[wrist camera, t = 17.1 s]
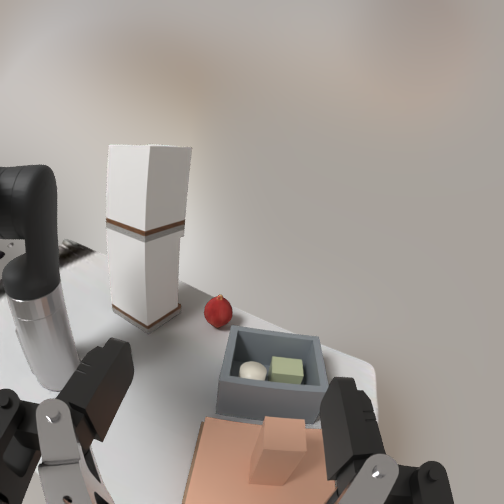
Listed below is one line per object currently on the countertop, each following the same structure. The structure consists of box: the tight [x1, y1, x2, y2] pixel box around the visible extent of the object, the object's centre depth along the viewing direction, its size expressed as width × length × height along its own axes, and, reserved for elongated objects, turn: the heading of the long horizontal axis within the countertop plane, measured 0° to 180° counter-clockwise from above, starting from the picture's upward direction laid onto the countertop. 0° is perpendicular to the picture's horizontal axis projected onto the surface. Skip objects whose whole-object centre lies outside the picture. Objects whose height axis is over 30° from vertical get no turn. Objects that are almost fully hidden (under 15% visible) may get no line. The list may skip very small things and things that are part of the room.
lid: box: [185, 416, 335, 504], centre depth 24 cm, size 17×15×12 cm
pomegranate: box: [204, 295, 232, 328], centre depth 56 cm, size 6×6×8 cm
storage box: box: [216, 325, 329, 424], centre depth 41 cm, size 15×13×8 cm
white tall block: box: [106, 144, 192, 334], centre depth 52 cm, size 11×11×35 cm
